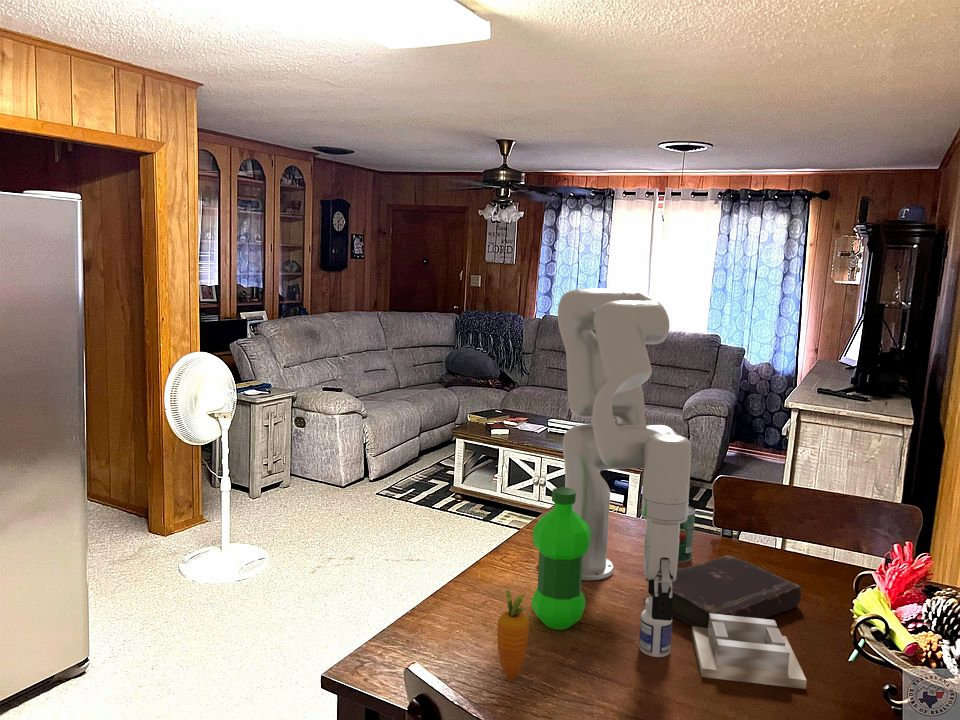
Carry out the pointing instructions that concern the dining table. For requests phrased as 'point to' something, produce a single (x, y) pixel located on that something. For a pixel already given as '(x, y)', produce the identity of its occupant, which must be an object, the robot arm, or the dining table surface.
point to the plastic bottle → (560, 562)
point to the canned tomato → (686, 537)
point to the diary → (730, 591)
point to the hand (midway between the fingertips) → (659, 606)
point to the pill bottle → (654, 633)
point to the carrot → (512, 637)
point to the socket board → (744, 673)
